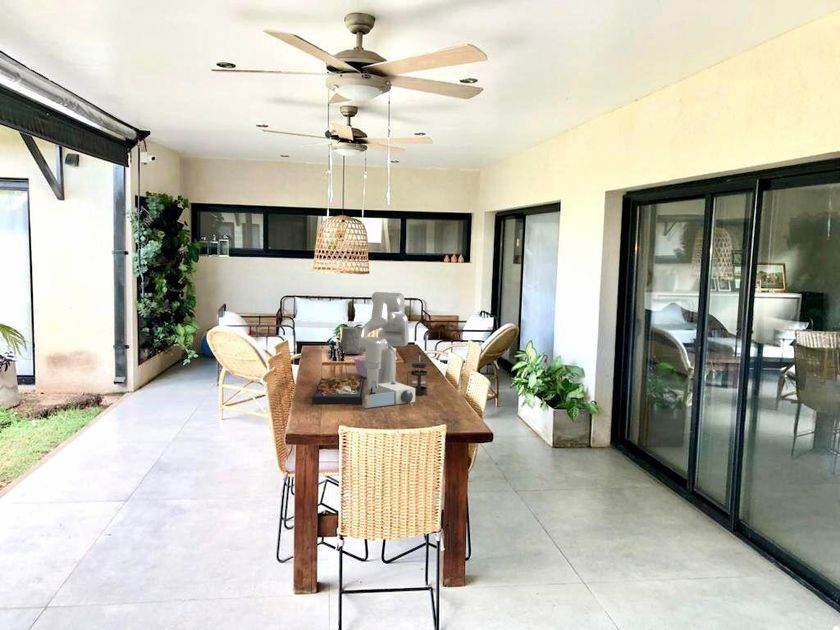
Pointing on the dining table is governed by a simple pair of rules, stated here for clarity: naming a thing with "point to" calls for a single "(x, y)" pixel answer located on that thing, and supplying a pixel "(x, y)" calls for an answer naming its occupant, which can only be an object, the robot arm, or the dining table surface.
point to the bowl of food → (361, 365)
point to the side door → (380, 399)
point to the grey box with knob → (398, 391)
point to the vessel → (351, 340)
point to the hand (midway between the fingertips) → (372, 402)
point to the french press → (419, 377)
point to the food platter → (339, 391)
